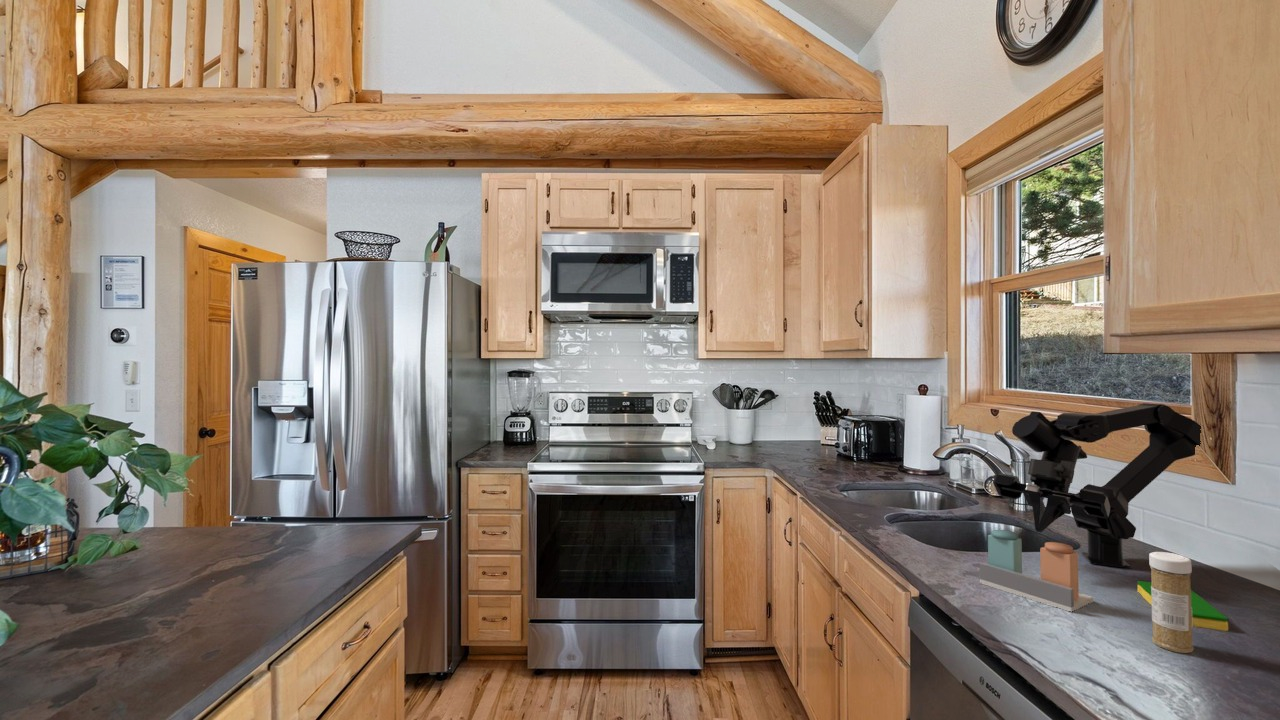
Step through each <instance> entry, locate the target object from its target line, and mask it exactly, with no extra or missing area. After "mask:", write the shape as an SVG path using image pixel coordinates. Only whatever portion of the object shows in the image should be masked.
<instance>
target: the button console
mask: <svg viewBox="0 0 1280 720" xmlns="http://www.w3.org/2000/svg"><path fill="white" fill-rule="evenodd" d="M978 568H979V584H982V585H986V586H987V587H991V588H993V589H994V588H995V589H998V590H999V591H1004V592H1007V593H1010V594H1012V593H1013V594H1012V595H1015V596H1016V595H1017V596H1019V597H1022V596H1023V597H1022V598H1025V597H1026V598H1025V599H1028V600H1031V599H1032V601H1034V602H1037V601H1038V603H1040V602H1041V604H1044V605H1048V606H1050V605H1051V607H1053V606H1054V608H1056V607H1058V608H1057V609H1059V608H1061V609H1060V610H1062V609H1064V610H1063V611H1065V610H1067V611H1066V612H1068V611H1071V612H1070V613H1073V612H1075V611H1076V610H1075V609H1077V610H1079V609H1081V608H1082V606H1083V607H1085V606H1087V605H1089V604H1091V603H1093V602H1094V597H1093V596H1090V595H1087V594H1084V593H1080V592H1079V598H1078V599H1076V600H1074V589H1073V588H1070V587H1066V586H1063V585H1059V584H1056V583H1052V582H1049V581H1045V580H1042V579H1041V578H1038V577H1034V576H1032V575H1028V574H1024V573H1022V574H1021V573H1018V572H1014V571H1011V570H1007V569H1004V568H1000V567H997V566H993V565H990V564H988V563H986V562H980V563H979V567H978ZM1090 602H1091V603H1090ZM1088 603H1089V604H1088ZM1086 604H1087V605H1086ZM1084 605H1085V606H1084ZM1080 607H1081V608H1080ZM1078 608H1079V609H1078ZM1074 610H1075V611H1074ZM1072 611H1073V612H1072Z"/></svg>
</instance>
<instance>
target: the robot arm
mask: <svg viewBox="0 0 1280 720" xmlns="http://www.w3.org/2000/svg"><path fill="white" fill-rule="evenodd" d="M1199 424H1200V423H1198V422H1196V421H1195V420H1194V419H1191V418H1190V417H1188V416H1185V415H1183V414H1181V413H1179V412H1177V411H1175V410H1174V409H1172V408H1171V407H1170V406H1168V405H1166V404H1163V403H1149V402H1148V403H1147V402H1143V403H1140V404H1138V405H1134V406H1129V407H1128V406H1127V407H1123V408H1118V409H1111V410H1108V411H1107V410H1106V411H1102V412H1097V413H1091V412H1089V413H1087V412H1086V413H1082V412H1063V413H1060V414H1059V415H1057V418H1056V419H1053V420H1050V419H1048V418H1047V417H1046V416H1045V415H1044V414H1043V413H1042V412H1041V411H1034V410H1033V411H1032V410H1031V412H1030V414H1028V415H1025V416H1023V417H1022V418H1020V419H1019V420H1018V421H1015V422H1014V424H1013V426H1012V428H1011V429H1012V430H1011V432H1012V435H1014V436H1015V437H1016V438H1017V439H1018V440H1020V441H1021V442H1022V443H1023V444H1025V445H1026V446H1027V447H1028V448H1029V449H1031V451H1034V452H1036V453H1042V456H1041V459H1037V458H1030V460H1029V465H1028V471H1027V474H1028V476H1029V475H1030V478H1029V479H1030V482H1031V483H1028V482H1027V483H1021V481H1020V479H1019V477H1018V476H1017V475H1010V474H1008V473H1003V472H1002V473H1001V472H998V473H997V474H995V475H994V478H993V480H992V484H993V486H994V488H995V490H996V492H997V495H999V496H1000V497H1002V498H1007V499H1011V500H1017V499H1020V498H1021V497H1022V494H1023V496H1024V499H1025V501H1026V503H1027V505H1028V506H1030V507H1031V508H1032V512H1033V514H1032V515H1033V521H1034V529H1035V531H1036V532H1038V533H1042V532H1044V530H1046V529H1047V528H1048V527H1050V525H1051V524H1052V523H1054V522H1055V521H1056V520H1058V519H1059V518H1061V517H1062V516H1064V515H1065V514H1066V515H1072V517H1073V520H1074V521H1075V525H1076V527H1077V528H1080V529H1084V530H1087V531H1086V532H1087V533H1086V535H1087V537H1086V538H1087V539H1086V540H1087V552H1081V555H1082V556H1083V557H1084V558H1085V559H1086V560H1087V562H1089V563H1090V564H1091V565H1101V566H1109V567H1116V568H1117V567H1118V568H1119V567H1120V568H1127V569H1129V568H1131V565H1130V564H1129V563H1128V562H1127V561H1125V560H1124V555H1123V554H1124V552H1123V549H1124V548H1123V547H1124V546H1123V540H1129V539H1132V538H1134V537H1135V534H1136V531H1137V527H1136V526H1135V525H1134V524H1133V523H1132V522H1131V521H1130V520H1129V519H1128V518H1127V516H1128V515H1129V503H1130V502H1131V501H1132V500H1134V499H1135V497H1136V496H1138V495H1139V494H1140V493H1141V492H1142V491H1143V490H1144V489H1145V488H1146V487H1148V486H1149V485H1150V484H1151V483H1152V482H1153V481H1154V480H1155V479H1157V478H1158V476H1160V475H1161V474H1162V473H1163V472H1164V471H1165V470H1166V469H1168V468H1169V467H1170V466H1172V464H1174V462H1176V461H1180V460H1183V459H1186V458H1190V457H1193V456H1196V454H1195V447H1196V445H1199V446H1200V444H1201V443H1200V442H1201V441H1200V433H1201V430H1200V429H1201V426H1200V425H1201V424H1200V425H1199ZM1137 427H1144V430H1145V431H1146V432H1147V433H1148V434H1149V435H1148V442H1149V443H1148V446H1147V447H1146V448H1144V449H1143V450H1142V451H1141V452H1140V453H1139V454H1137V456H1135V457H1134V458H1133V460H1131V461H1130V462H1129V463H1128V464H1126V465H1125V466H1124V468H1122V469H1120V471H1119V472H1118V473H1117V474H1115V475H1114V476H1113V477H1112V478H1111V479H1110V480H1109V481H1108V482H1107V483H1105V484H1104V485H1102V486H1098V485H1095V484H1090V483H1088V484H1086V485H1085V486H1083V488H1081V489H1080V490H1079V492H1076V493H1073V492H1070V491H1069V490H1070V488H1071V487H1070V486H1071V484H1073V479H1074V476H1075V468H1076V464H1077V461H1078V460H1081V459H1082V460H1083V459H1087V458H1088V456H1087V453H1086V452H1085V450H1083V448H1082V446H1081V445H1077V444H1076V443H1075V441H1076V442H1079V443H1080V442H1081V443H1090V444H1091V443H1095V442H1097V441H1100V440H1102V439H1105V438H1107V437H1108V435H1109V434H1110V433H1113V432H1117V431H1122V430H1129V429H1131V428H1137ZM1044 499H1047V500H1046V504H1045V503H1044Z"/></svg>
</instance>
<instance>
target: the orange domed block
mask: <svg viewBox="0 0 1280 720" xmlns="http://www.w3.org/2000/svg"><path fill="white" fill-rule="evenodd" d="M1039 550H1040V552H1039V553H1040V554H1039V555H1040V579H1042V580H1045V581H1049V582H1052V583H1056V584H1059V585H1063V586H1066V587H1070V588H1073V589H1074V600H1076V599H1078V598H1079V593H1080V591H1079V553H1078V552H1077V551H1074V548H1073V546H1072V545H1069V544H1066V543H1062V542H1056V541H1055V542H1054V541H1048V542H1047V541H1046V542H1044V546H1042V547H1040V549H1039Z"/></svg>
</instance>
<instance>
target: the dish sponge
mask: <svg viewBox="0 0 1280 720" xmlns="http://www.w3.org/2000/svg"><path fill="white" fill-rule="evenodd" d="M1151 582H1152V581H1151ZM1151 582H1149V581H1144V580H1143V581H1142V580H1139V581H1137V593H1138V592H1139V593H1140V594H1141V595H1142V596H1141V595H1140V594H1139V593H1138V594H1139V595H1140V596H1141V597H1142V598H1143V599H1145V601H1147V603H1149V604H1150V605H1151V606H1152V599H1151V585H1152V583H1151ZM1191 607H1192V619H1193V627H1196V628H1203V629H1211V630H1216V631H1217V630H1218V631H1224V632H1225V631H1226V632H1227V631H1229V618H1228V617H1227V616H1225V615H1224V614H1223V613H1221V612H1220V611H1219V610H1218V609H1217V608H1216V607H1214V606H1213V605H1211V604H1210V603H1209V602H1208V601H1207V600H1205V599H1204V598H1202V597H1201V596H1200V595H1199V594H1197V593H1196V592H1195V591H1193V590H1192V589H1191Z"/></svg>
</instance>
